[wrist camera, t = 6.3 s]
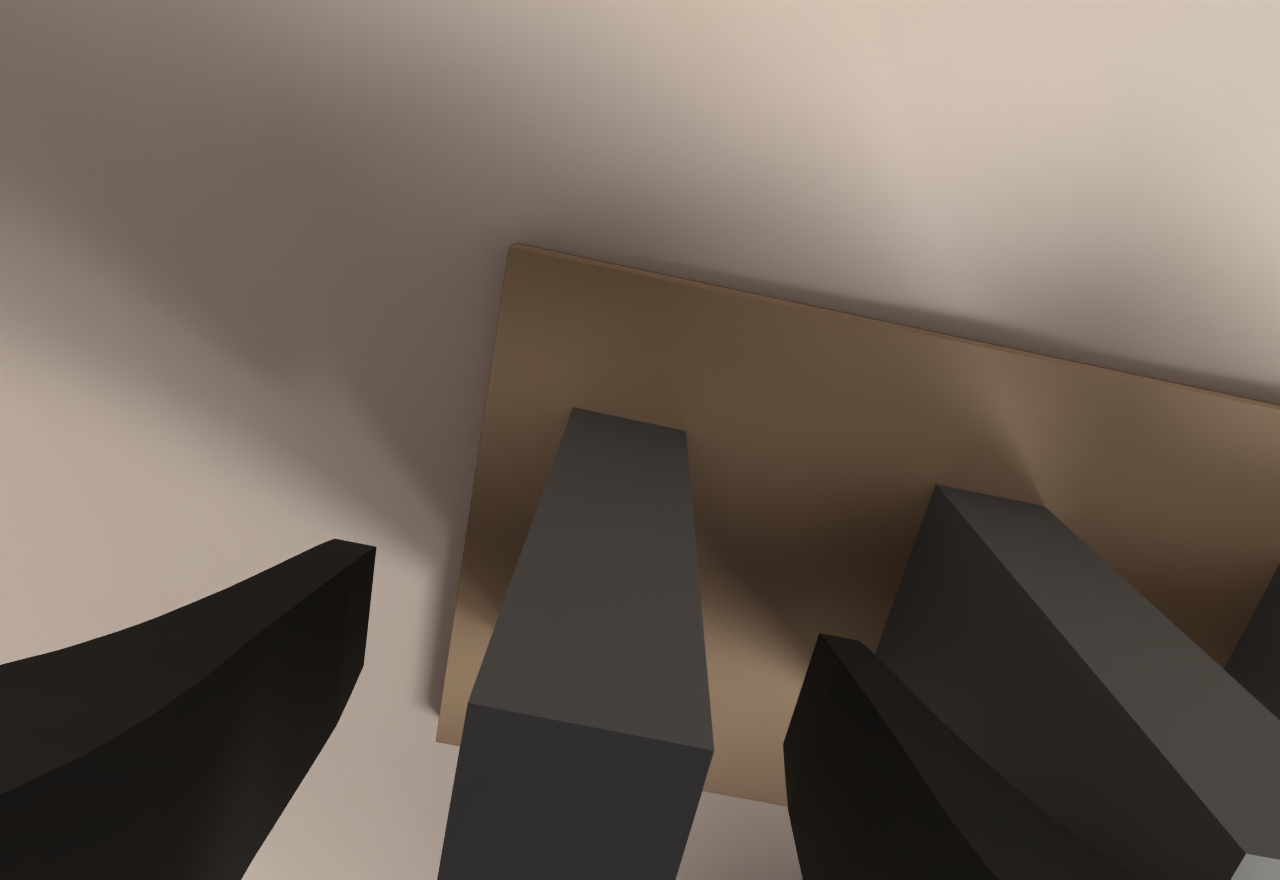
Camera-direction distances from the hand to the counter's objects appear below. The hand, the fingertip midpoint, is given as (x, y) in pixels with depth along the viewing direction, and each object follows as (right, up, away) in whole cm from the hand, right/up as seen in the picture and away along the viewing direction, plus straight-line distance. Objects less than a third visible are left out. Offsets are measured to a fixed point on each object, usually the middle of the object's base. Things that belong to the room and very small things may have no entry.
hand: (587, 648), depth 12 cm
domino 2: (+6, 0, +3) cm, 7 cm away
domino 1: (0, +1, +3) cm, 3 cm away
